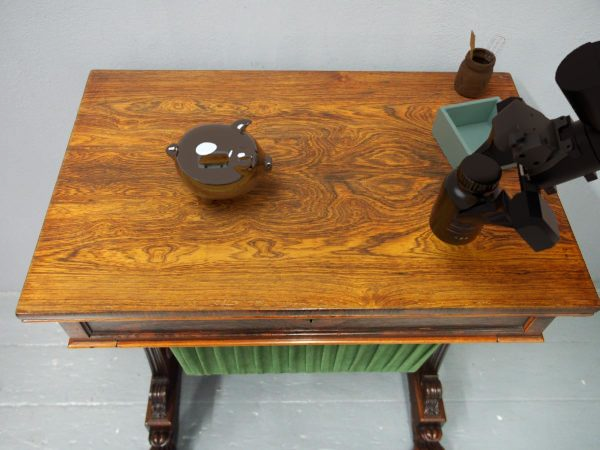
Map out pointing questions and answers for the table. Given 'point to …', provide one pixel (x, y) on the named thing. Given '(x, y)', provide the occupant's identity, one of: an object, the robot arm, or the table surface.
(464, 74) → the utensil holder
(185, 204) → the table surface
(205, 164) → the piggy bank
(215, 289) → the table surface
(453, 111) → the open storage bin
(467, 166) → the supplement bottle
